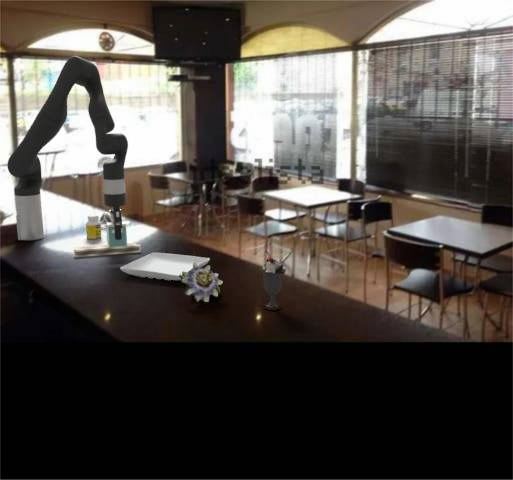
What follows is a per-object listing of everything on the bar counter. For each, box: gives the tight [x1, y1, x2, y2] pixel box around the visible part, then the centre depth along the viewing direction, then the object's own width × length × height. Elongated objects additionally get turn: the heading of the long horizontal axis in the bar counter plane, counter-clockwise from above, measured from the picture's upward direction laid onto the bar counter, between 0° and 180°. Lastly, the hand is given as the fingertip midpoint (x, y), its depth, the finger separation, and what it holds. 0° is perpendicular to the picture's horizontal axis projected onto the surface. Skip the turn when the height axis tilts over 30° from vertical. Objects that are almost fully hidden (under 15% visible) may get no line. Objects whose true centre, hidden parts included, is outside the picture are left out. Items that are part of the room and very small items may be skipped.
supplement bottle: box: [85, 214, 102, 241], centre depth 217 cm, size 5×5×10 cm
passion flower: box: [179, 262, 224, 303], centre depth 153 cm, size 11×11×12 cm
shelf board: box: [73, 242, 142, 258], centre depth 201 cm, size 22×14×3 cm, turn 109°
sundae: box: [259, 250, 287, 308], centre depth 145 cm, size 7×7×15 cm
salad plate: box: [119, 252, 211, 282], centre depth 178 cm, size 21×21×3 cm
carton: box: [106, 222, 128, 247], centre depth 202 cm, size 6×4×9 cm
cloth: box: [83, 211, 131, 230], centre depth 249 cm, size 22×19×6 cm
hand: (117, 237), depth 202 cm, fingers open, 8 cm apart
